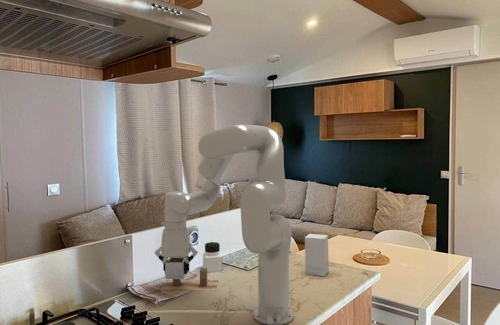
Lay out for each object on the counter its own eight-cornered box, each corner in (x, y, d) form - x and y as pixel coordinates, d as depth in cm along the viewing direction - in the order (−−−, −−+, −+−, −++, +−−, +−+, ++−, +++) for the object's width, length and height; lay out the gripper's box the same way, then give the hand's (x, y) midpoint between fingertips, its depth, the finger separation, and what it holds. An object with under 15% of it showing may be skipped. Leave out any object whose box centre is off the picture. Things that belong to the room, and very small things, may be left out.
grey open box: (183, 279, 138) (183, 263, 137) (165, 279, 138) (165, 262, 138) (187, 272, 144) (186, 257, 144) (169, 272, 145) (169, 257, 144)
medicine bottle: (222, 273, 157) (222, 244, 156) (205, 274, 155) (204, 245, 154) (219, 267, 163) (219, 240, 163) (202, 269, 162) (202, 241, 161)
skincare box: (329, 272, 157) (329, 235, 156) (324, 277, 151) (324, 238, 150) (309, 269, 161) (309, 232, 160) (304, 274, 155) (304, 236, 154)
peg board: (215, 293, 136) (215, 274, 136) (160, 293, 137) (159, 274, 136) (218, 282, 146) (218, 264, 146) (166, 282, 147) (166, 264, 146)
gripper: (149, 227, 136) (150, 276, 138) (197, 227, 136) (198, 276, 137) (155, 222, 144) (156, 269, 145) (200, 223, 143) (201, 269, 145)
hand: (176, 272), depth 141 cm, fingers closed on grey open box, 6 cm apart
